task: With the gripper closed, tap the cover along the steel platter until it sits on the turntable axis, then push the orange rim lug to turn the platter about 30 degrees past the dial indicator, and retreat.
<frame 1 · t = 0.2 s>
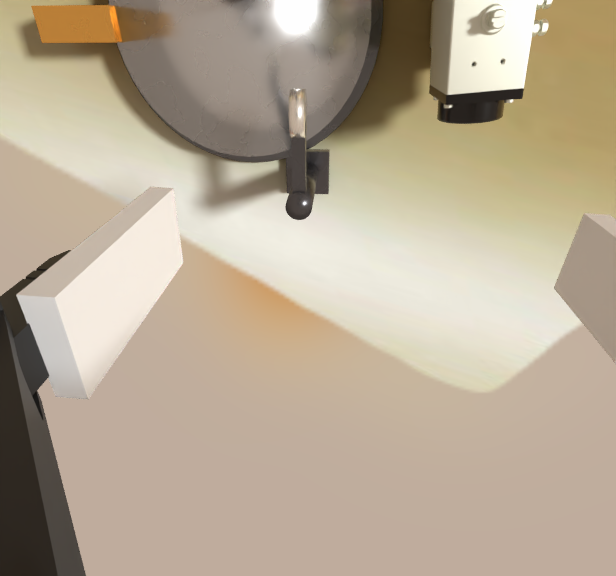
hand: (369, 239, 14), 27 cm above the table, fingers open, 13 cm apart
pneumatic valve: (456, 22, 34), on the table
turntable base: (246, 24, 35), on the table
turntable: (205, 23, 33), point 3 cm above the table, hinge at 0.0°, touching cover
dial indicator: (308, 170, 40), on the table
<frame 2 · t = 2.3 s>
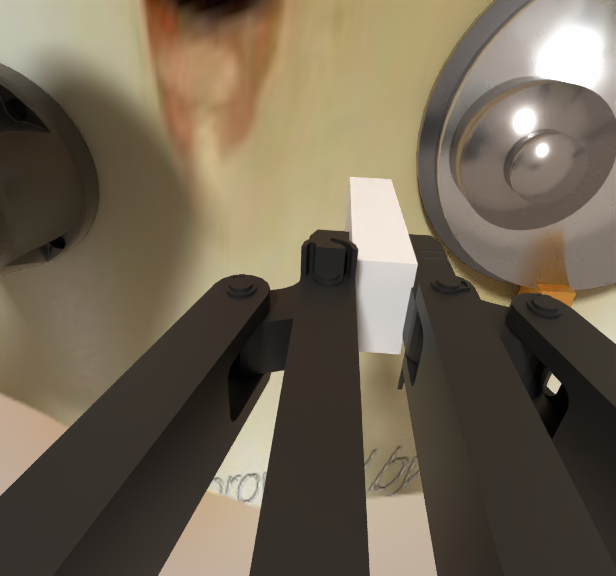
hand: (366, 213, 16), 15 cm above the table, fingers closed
cover: (515, 147, 26), point 3 cm above the table, touching turntable
turntable base: (582, 141, 28), on the table
turntable: (585, 193, 28), point 2 cm above the table, hinge at 0.0°, touching cover
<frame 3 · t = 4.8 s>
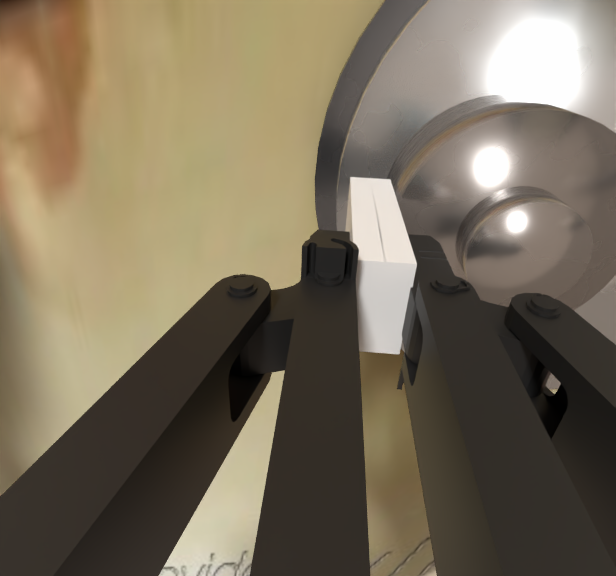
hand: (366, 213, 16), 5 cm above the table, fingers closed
cover: (481, 202, 17), point 3 cm above the table, touching gripper
turntable base: (553, 185, 19), on the table
turntable: (556, 263, 19), point 3 cm above the table, hinge at 0.0°
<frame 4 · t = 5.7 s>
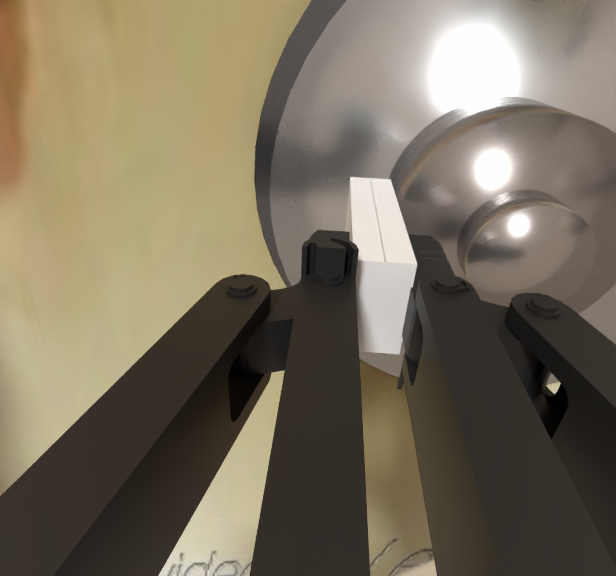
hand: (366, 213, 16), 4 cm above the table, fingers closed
cover: (483, 205, 17), point 3 cm above the table, touching gripper, turntable
turntable base: (494, 186, 19), on the table
turntable: (495, 264, 19), point 3 cm above the table, hinge at 0.0°, touching cover
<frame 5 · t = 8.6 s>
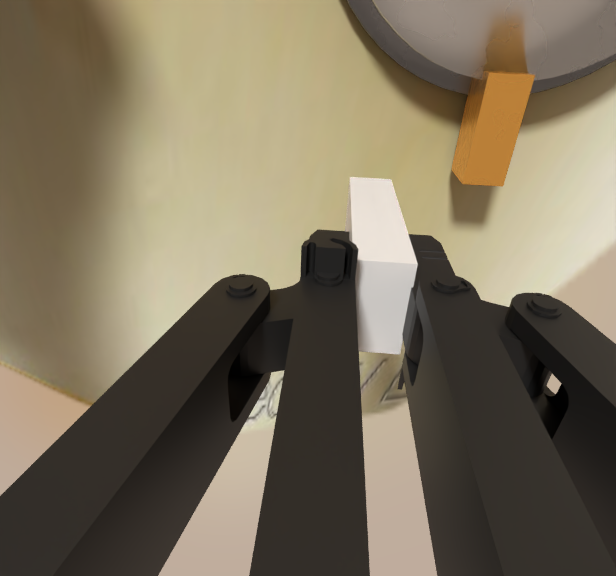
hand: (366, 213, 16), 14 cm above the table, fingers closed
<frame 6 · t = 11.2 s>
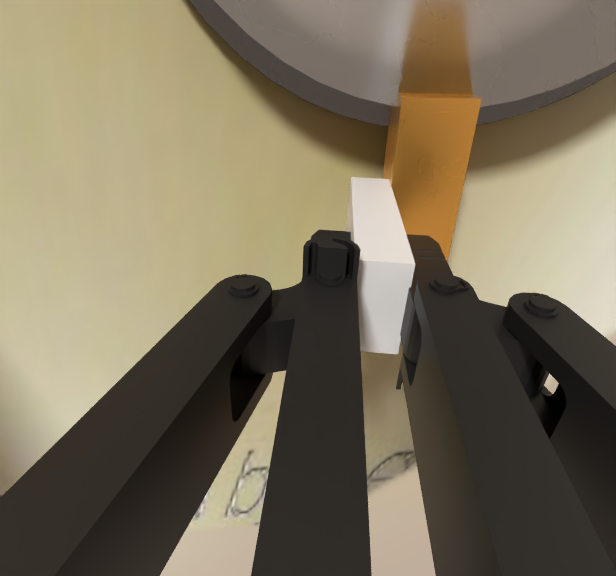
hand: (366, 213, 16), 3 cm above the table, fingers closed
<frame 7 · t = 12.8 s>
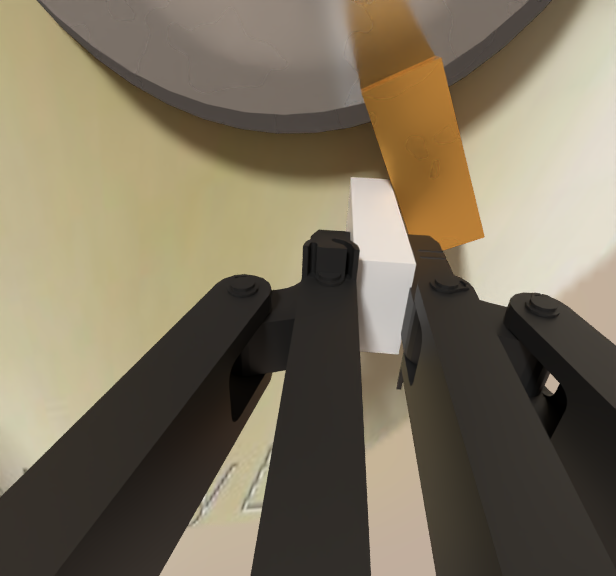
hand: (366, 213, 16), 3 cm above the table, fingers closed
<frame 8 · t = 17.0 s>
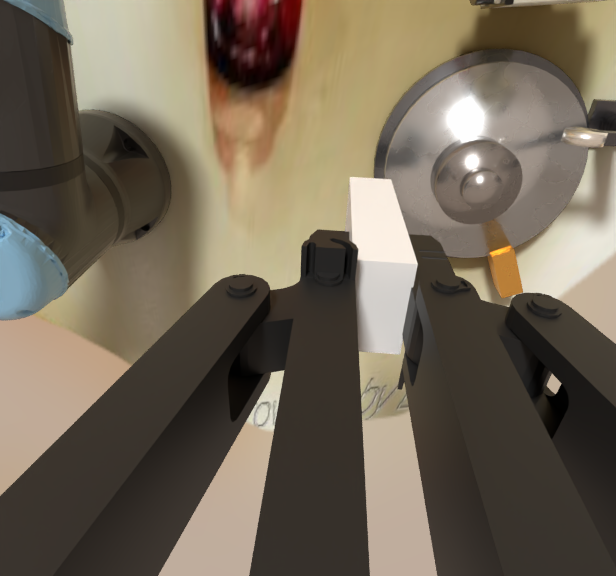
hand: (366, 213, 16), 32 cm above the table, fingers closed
cover: (469, 175, 44), point 3 cm above the table, touching turntable
turntable base: (475, 164, 46), on the table
turntable: (486, 194, 45), point 2 cm above the table, hinge at 25.6°, touching cover
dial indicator: (606, 121, 43), on the table
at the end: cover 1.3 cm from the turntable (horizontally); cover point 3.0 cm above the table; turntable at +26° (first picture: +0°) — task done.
